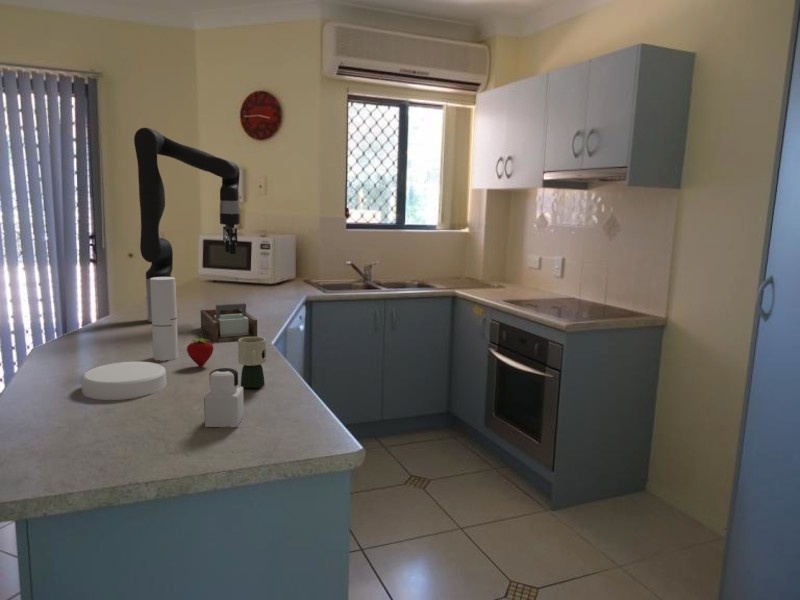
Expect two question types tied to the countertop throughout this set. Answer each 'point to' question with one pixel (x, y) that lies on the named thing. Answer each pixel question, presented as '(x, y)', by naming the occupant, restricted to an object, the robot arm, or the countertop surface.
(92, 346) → the countertop surface
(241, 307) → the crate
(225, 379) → the medicine bottle
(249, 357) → the character mug
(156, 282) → the cylindrical container
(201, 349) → the strawberry
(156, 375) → the container
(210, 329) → the bay
